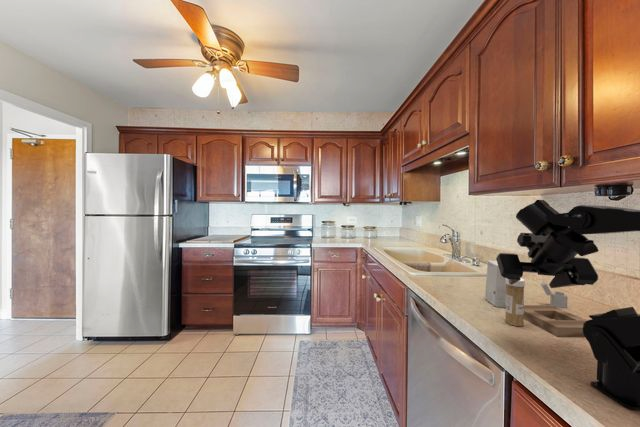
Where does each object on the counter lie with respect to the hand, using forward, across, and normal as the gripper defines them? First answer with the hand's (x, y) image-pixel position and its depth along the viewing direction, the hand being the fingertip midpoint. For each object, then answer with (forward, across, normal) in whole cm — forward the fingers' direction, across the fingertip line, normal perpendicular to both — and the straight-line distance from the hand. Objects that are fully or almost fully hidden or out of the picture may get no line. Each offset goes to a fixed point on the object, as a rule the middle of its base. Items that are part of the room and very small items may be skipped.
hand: (529, 284), depth 69 cm
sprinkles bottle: (+16, 0, +4) cm, 16 cm away
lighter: (+30, -20, -10) cm, 37 cm away
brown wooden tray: (+18, -12, +2) cm, 21 cm away
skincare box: (+28, -2, -8) cm, 29 cm away
